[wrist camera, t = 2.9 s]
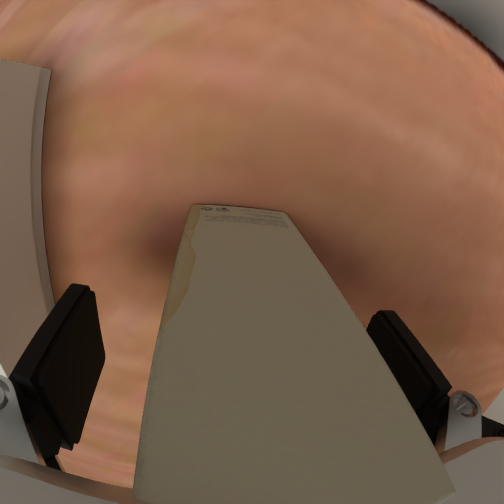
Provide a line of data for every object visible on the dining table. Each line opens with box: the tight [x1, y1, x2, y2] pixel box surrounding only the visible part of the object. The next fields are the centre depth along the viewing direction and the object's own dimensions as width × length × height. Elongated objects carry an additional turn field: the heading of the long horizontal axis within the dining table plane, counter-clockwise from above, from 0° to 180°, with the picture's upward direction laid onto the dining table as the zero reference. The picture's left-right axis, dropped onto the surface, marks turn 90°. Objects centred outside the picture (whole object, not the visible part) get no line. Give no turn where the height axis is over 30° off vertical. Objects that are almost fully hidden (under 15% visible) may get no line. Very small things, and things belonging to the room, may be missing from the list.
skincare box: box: [133, 204, 457, 504], centre depth 8 cm, size 6×4×12 cm
